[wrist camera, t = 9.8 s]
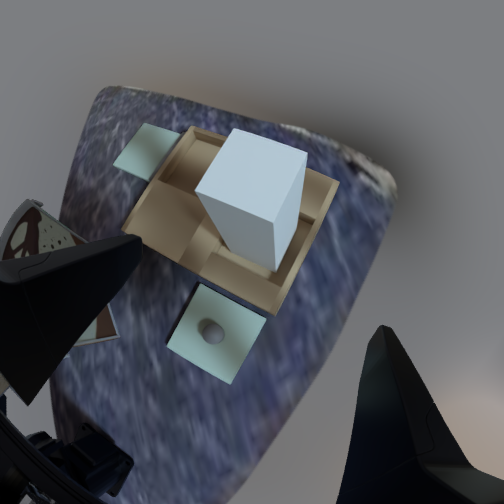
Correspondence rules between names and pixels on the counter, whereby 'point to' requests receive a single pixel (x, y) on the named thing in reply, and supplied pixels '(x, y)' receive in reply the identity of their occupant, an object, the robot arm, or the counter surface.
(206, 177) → the tall white block
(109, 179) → the counter surface
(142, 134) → the puzzle board
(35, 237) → the food container
